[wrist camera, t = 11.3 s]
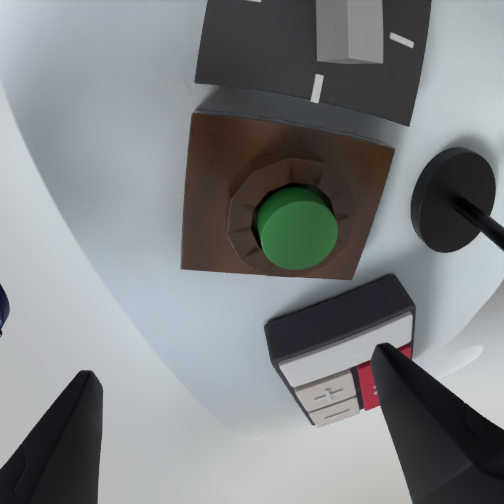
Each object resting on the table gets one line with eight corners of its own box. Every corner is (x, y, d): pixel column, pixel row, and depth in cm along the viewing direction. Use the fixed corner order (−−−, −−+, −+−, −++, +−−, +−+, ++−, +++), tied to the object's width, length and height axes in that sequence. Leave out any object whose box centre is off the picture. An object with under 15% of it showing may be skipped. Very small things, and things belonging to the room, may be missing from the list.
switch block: (183, 254, 20) (177, 288, 17) (194, 109, 15) (188, 117, 12) (343, 265, 21) (361, 297, 18) (381, 141, 17) (412, 158, 14)
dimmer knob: (345, 64, 12) (386, 63, 9) (316, 61, 12) (351, 58, 9) (342, -27, 9) (381, -51, 6) (313, -31, 9) (345, -60, 6)
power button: (251, 248, 16) (255, 267, 15) (263, 182, 14) (269, 196, 13) (317, 253, 17) (326, 272, 15) (334, 192, 15) (347, 206, 13)
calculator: (314, 432, 28) (270, 370, 20) (305, 399, 32) (261, 323, 23) (410, 395, 27) (421, 310, 19) (396, 364, 31) (395, 271, 22)
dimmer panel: (197, 84, 14) (193, 85, 12) (225, -62, 10) (226, -82, 7) (387, 120, 16) (410, 129, 14) (409, -10, 11) (434, -16, 9)
